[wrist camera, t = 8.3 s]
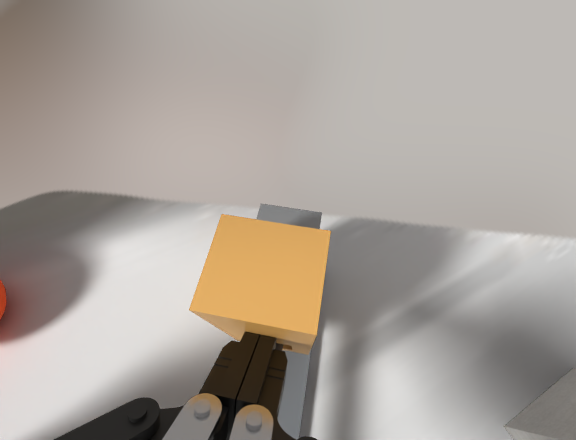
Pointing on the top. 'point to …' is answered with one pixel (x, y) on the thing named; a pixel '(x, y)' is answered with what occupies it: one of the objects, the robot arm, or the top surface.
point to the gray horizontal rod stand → (296, 361)
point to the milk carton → (549, 414)
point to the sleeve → (264, 281)
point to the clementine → (2, 299)
